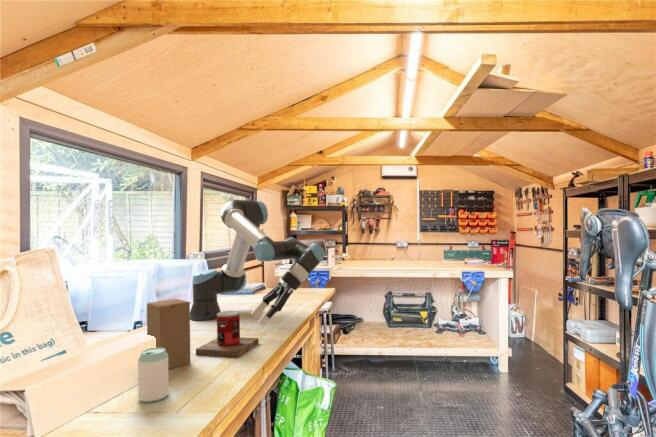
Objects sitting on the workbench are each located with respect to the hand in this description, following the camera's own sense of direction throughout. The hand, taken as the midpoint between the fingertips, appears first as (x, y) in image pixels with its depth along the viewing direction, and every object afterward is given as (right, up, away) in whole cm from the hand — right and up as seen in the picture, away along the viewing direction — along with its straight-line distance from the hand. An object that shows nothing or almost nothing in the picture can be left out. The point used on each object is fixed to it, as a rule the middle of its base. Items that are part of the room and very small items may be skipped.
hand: (257, 319), depth 140 cm
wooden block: (-25, -10, -19) cm, 33 cm away
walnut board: (-9, -9, -4) cm, 14 cm away
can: (-18, -8, -43) cm, 48 cm away
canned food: (-9, -8, -4) cm, 13 cm away
